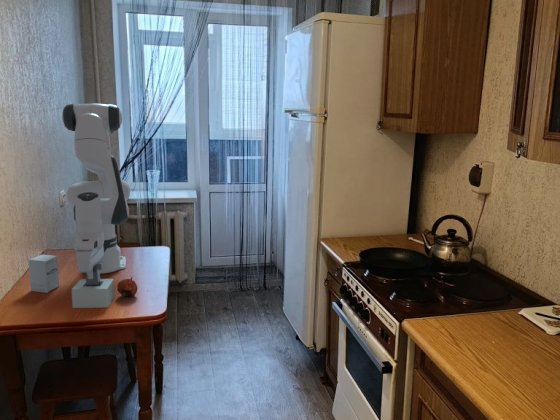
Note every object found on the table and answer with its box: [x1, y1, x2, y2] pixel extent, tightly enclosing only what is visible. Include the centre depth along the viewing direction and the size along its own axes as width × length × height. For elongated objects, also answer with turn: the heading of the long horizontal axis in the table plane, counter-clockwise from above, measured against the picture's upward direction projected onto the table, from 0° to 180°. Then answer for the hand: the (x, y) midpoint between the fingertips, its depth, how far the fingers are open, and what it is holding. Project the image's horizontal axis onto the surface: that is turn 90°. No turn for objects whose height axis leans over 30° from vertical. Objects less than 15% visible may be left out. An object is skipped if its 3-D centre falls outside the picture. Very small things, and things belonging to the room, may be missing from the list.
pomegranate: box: [116, 276, 138, 301], centre depth 175 cm, size 7×7×10 cm
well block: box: [71, 278, 116, 309], centre depth 169 cm, size 10×12×7 cm
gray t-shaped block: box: [85, 262, 104, 287], centre depth 168 cm, size 3×7×12 cm, turn 96°
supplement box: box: [28, 254, 60, 293], centre depth 180 cm, size 7×7×13 cm
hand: (92, 276), depth 168 cm, fingers closed on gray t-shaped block, 3 cm apart
